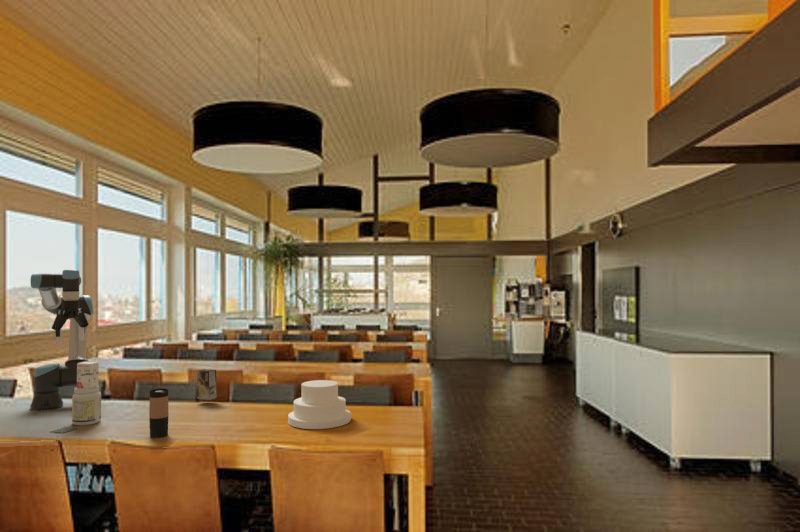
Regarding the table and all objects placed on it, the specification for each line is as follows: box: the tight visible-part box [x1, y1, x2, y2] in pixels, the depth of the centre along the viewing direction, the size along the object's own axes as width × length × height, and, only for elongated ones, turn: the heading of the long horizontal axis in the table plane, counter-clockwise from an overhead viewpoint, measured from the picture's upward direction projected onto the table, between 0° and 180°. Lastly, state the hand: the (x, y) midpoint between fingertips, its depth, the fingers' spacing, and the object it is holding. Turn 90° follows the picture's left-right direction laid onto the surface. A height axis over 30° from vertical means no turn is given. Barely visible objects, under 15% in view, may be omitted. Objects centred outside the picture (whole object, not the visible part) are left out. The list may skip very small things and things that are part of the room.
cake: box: [287, 379, 352, 430], centre depth 263 cm, size 30×30×18 cm
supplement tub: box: [71, 385, 102, 426], centre depth 261 cm, size 12×12×17 cm
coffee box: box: [196, 368, 217, 401], centre depth 311 cm, size 9×6×16 cm
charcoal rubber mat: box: [49, 426, 78, 435], centre depth 248 cm, size 8×7×1 cm
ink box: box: [76, 361, 100, 388], centre depth 262 cm, size 9×5×12 cm, turn 75°
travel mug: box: [148, 388, 169, 439], centre depth 238 cm, size 8×8×20 cm
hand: (70, 341), depth 278 cm, fingers open, 13 cm apart
